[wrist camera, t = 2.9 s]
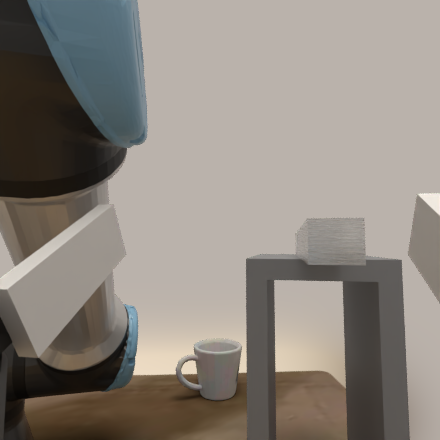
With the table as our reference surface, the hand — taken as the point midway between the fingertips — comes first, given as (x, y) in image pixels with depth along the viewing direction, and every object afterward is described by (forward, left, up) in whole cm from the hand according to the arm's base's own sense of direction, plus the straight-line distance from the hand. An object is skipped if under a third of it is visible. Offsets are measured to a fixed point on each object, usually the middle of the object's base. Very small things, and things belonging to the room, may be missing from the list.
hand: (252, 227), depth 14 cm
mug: (-57, 0, -32) cm, 65 cm away
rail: (-19, +10, -2) cm, 21 cm away
